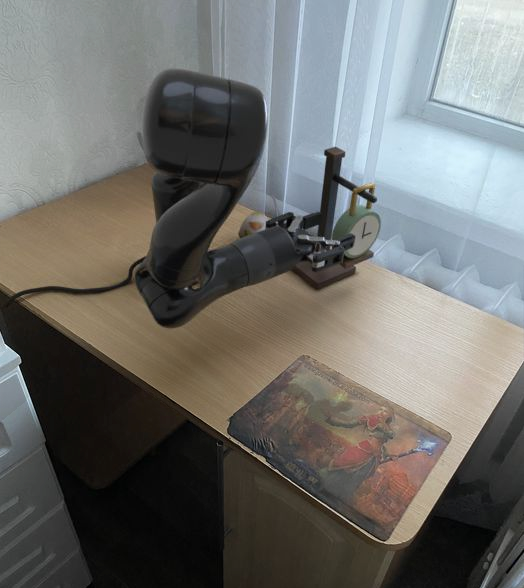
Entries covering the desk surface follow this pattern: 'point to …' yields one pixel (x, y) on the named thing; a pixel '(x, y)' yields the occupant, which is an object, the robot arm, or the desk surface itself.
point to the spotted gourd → (253, 224)
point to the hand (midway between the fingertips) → (336, 228)
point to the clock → (358, 228)
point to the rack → (330, 220)
